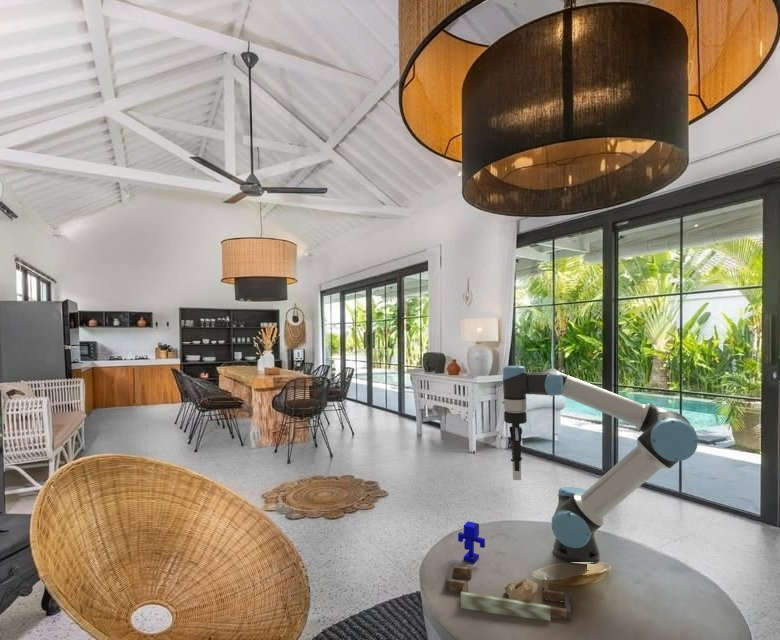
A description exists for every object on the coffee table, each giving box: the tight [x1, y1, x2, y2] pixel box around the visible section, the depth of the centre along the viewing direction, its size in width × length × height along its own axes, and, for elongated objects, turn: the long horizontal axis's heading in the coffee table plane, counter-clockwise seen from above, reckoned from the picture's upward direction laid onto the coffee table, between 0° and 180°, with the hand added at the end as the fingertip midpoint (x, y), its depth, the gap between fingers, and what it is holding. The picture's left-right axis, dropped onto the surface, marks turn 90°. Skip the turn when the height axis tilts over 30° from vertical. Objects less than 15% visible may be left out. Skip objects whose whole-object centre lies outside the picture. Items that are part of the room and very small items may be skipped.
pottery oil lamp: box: [504, 579, 539, 603], centre depth 135 cm, size 9×12×7 cm
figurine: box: [457, 520, 486, 564], centre depth 160 cm, size 8×8×12 cm
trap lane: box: [445, 564, 572, 622], centre depth 138 cm, size 35×18×4 cm, turn 74°
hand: (517, 479), depth 159 cm, fingers closed
